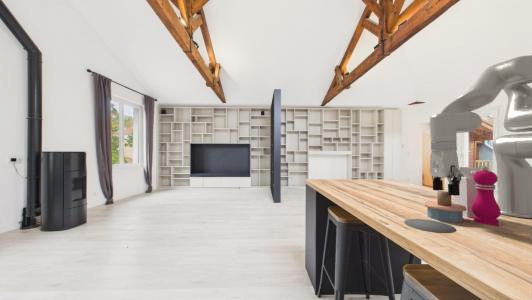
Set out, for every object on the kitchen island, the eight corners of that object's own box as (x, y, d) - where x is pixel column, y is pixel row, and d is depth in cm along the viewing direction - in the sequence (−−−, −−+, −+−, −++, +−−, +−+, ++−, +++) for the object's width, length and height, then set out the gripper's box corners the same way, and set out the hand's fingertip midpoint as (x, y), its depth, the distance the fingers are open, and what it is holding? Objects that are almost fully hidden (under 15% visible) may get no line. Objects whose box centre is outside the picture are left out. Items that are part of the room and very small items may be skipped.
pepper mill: (507, 227, 71) (506, 166, 72) (481, 226, 73) (480, 166, 73) (489, 220, 79) (488, 165, 79) (466, 219, 80) (465, 165, 80)
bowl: (451, 216, 85) (451, 204, 85) (470, 224, 75) (469, 211, 75) (422, 214, 87) (422, 203, 87) (437, 222, 77) (436, 210, 77)
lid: (452, 203, 86) (452, 189, 86) (475, 212, 74) (475, 195, 74) (418, 202, 88) (418, 189, 88) (435, 210, 76) (435, 194, 76)
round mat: (440, 221, 78) (440, 220, 79) (467, 236, 65) (467, 234, 65) (397, 219, 81) (397, 218, 81) (415, 233, 68) (415, 231, 68)
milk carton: (453, 213, 88) (452, 166, 89) (473, 213, 87) (472, 166, 88) (467, 218, 81) (466, 167, 82) (489, 219, 80) (487, 167, 81)
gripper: (420, 147, 90) (422, 188, 90) (446, 146, 73) (448, 197, 73) (441, 146, 89) (443, 188, 89) (472, 145, 72) (474, 197, 72)
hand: (445, 192), depth 81 cm, fingers open, 9 cm apart
